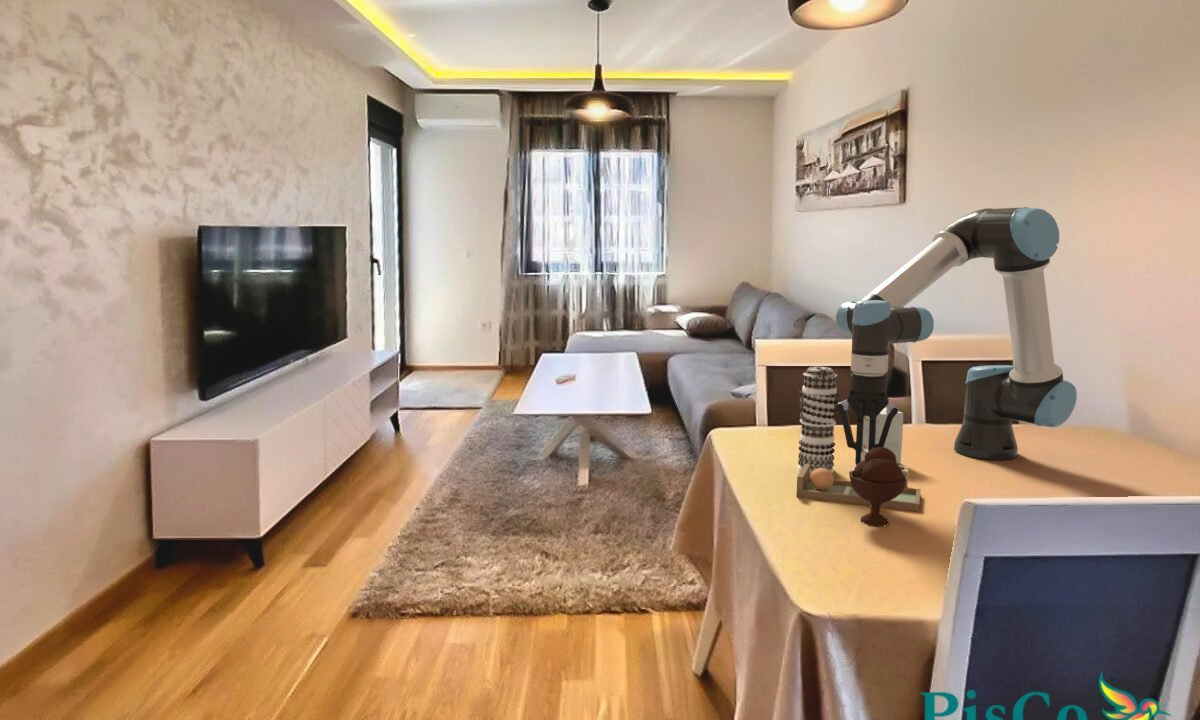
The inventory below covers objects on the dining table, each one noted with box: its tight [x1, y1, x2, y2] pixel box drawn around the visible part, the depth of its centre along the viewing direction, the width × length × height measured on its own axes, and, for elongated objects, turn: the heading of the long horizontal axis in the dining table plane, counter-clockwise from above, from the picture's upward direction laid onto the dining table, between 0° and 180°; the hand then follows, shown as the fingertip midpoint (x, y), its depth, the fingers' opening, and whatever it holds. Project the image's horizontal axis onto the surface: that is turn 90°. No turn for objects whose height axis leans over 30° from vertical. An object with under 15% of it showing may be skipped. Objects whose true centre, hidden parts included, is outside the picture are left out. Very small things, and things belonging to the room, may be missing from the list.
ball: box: [810, 468, 835, 491], centre depth 186 cm, size 5×5×5 cm
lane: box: [795, 464, 921, 512], centre depth 184 cm, size 25×11×4 cm, turn 68°
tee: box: [898, 464, 910, 488], centre depth 189 cm, size 4×4×5 cm
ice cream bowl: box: [848, 447, 907, 527], centre depth 167 cm, size 11×11×15 cm
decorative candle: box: [797, 365, 840, 475], centre depth 202 cm, size 9×9×25 cm
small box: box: [862, 407, 904, 464], centre depth 212 cm, size 8×6×13 cm
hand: (863, 479), depth 183 cm, fingers closed
